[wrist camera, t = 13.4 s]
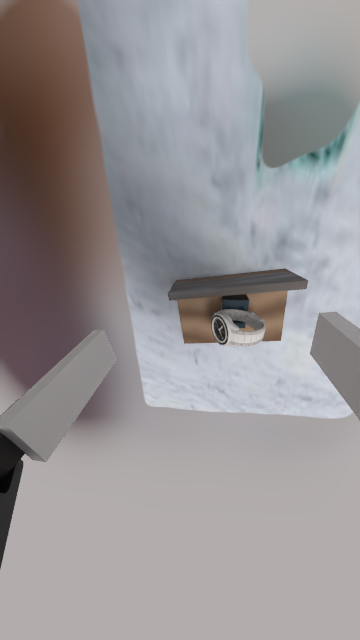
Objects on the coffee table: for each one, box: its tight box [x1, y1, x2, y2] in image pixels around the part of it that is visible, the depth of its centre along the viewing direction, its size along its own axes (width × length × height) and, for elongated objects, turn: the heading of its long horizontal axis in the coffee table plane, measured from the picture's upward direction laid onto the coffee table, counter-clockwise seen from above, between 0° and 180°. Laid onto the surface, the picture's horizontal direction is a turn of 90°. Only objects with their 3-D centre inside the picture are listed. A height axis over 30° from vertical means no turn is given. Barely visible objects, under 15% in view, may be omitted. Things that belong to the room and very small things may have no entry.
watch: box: [211, 294, 266, 347], centre depth 29 cm, size 6×8×11 cm
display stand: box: [168, 269, 308, 343], centre depth 32 cm, size 14×20×8 cm
